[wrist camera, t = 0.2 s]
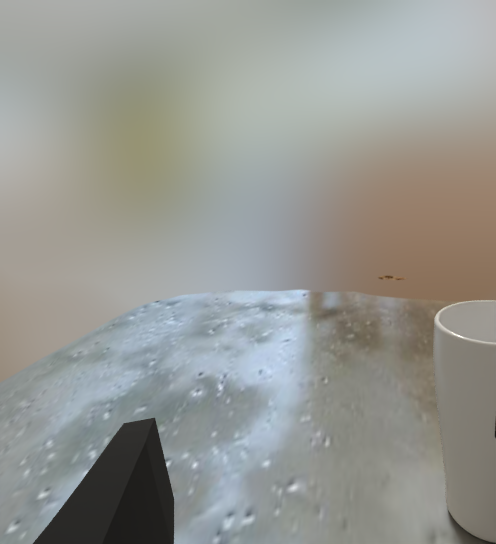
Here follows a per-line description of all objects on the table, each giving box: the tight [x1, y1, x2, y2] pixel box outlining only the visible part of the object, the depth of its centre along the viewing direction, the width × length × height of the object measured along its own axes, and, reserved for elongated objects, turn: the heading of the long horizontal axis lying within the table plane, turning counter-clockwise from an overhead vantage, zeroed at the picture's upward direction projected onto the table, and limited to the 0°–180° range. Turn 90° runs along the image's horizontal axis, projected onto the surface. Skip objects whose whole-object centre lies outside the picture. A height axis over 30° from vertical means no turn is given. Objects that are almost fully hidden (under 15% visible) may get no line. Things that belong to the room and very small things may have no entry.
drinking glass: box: [433, 300, 496, 543], centre depth 27 cm, size 7×7×15 cm
